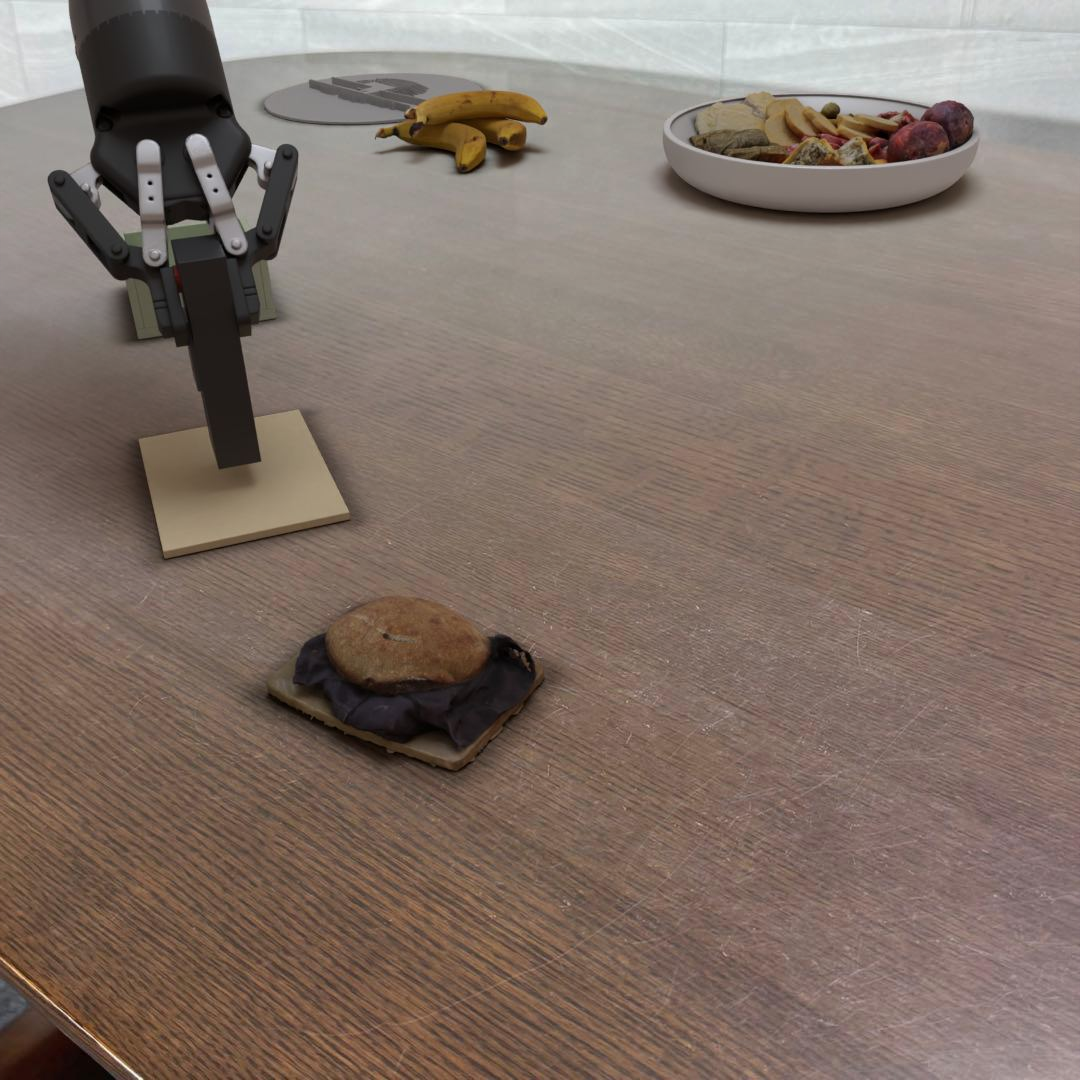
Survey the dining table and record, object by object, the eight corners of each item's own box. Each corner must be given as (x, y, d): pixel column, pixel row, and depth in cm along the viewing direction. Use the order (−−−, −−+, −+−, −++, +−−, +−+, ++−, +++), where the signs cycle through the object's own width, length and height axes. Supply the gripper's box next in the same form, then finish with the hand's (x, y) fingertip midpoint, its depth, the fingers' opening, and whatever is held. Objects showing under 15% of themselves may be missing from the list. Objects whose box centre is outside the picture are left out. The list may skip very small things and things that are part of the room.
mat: (350, 519, 66) (349, 511, 66) (164, 559, 63) (162, 551, 63) (299, 416, 77) (298, 408, 77) (139, 445, 74) (138, 438, 74)
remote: (214, 470, 67) (173, 263, 61) (205, 440, 70) (165, 240, 64) (261, 461, 68) (225, 256, 62) (251, 432, 71) (216, 233, 65)
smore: (254, 702, 53) (240, 636, 51) (372, 605, 59) (364, 542, 57) (451, 786, 48) (443, 715, 46) (558, 670, 54) (555, 604, 52)
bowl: (630, 212, 111) (631, 125, 107) (693, 133, 135) (696, 59, 131) (970, 234, 103) (986, 141, 99) (972, 146, 127) (985, 68, 123)
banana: (384, 138, 138) (379, 86, 134) (550, 135, 137) (548, 82, 134) (363, 175, 125) (357, 118, 122) (546, 171, 124) (545, 114, 121)
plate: (225, 99, 157) (224, 90, 157) (402, 67, 172) (401, 57, 171) (339, 137, 139) (338, 126, 138) (526, 96, 154) (526, 86, 153)
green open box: (138, 339, 89) (124, 277, 86) (128, 290, 98) (115, 232, 95) (276, 318, 92) (266, 257, 89) (254, 272, 101) (244, 215, 98)
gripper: (0, 17, 61) (64, 327, 58) (275, -6, 65) (349, 284, 62) (27, 104, 68) (85, 385, 65) (273, 79, 72) (340, 343, 69)
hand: (214, 334), depth 63 cm, fingers closed on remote, 2 cm apart
